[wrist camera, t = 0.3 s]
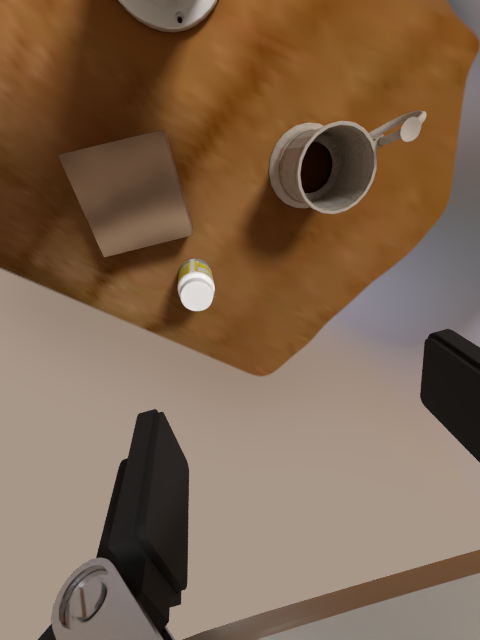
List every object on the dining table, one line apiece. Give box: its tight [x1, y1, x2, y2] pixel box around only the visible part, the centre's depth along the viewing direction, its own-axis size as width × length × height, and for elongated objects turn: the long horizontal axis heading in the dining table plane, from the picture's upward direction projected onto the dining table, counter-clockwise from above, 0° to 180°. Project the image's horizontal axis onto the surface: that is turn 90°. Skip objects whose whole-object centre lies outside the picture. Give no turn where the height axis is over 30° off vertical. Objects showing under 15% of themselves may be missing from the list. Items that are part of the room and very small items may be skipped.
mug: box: [269, 111, 426, 214], centre depth 33 cm, size 14×10×12 cm
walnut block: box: [58, 130, 193, 257], centre depth 35 cm, size 11×11×5 cm
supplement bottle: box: [178, 259, 215, 311], centre depth 40 cm, size 5×5×8 cm
